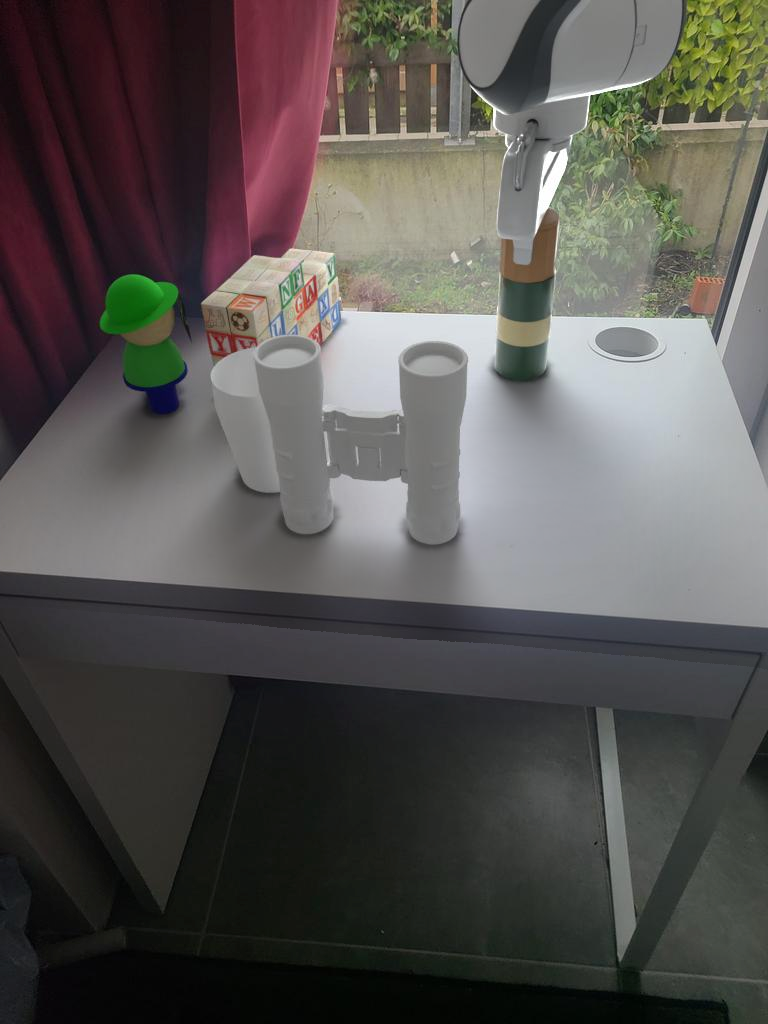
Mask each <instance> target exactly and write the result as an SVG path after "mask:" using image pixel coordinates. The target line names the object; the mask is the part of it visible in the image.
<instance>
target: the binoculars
mask: <svg viewBox="0 0 768 1024" xmlns="http://www.w3.org/2000/svg"><path fill="white" fill-rule="evenodd" d="M321 351H322V350H321V345H319V344H318V343H317V342H316V341H315V340H313V339H311V338H309V337H306V336H302V335H281V336H276V337H273V338H270V339H267V340H265V341H264V342H262V343H260V344H259V345H258V346H257V347H256V348H255V350H254V352H253V359H254V362H255V368H256V374H257V380H258V386H259V392H260V395H261V398H262V401H263V404H264V407H265V410H266V413H267V416H268V419H269V422H270V427H271V434H272V440H273V443H272V445H273V449H274V452H275V458H276V470H277V472H278V477H279V487H280V492H279V493H280V496H279V500H280V508H281V511H282V514H283V517H284V523H285V525H286V527H287V528H288V529H289V530H291V531H292V532H294V533H296V534H299V535H313V534H317V533H320V532H323V531H324V530H326V529H327V528H328V527H330V525H331V524H332V523H333V520H334V505H335V503H334V494H333V492H332V488H331V481H330V479H338V478H340V477H341V475H344V476H347V477H350V478H351V479H353V480H358V481H366V482H367V481H369V482H388V481H390V480H394V479H398V478H400V481H401V483H404V484H407V493H406V495H407V497H406V498H407V501H406V503H405V512H406V513H405V517H406V519H407V528H408V529H407V530H408V532H409V533H408V534H410V536H411V537H412V539H414V540H415V541H417V542H420V543H422V544H425V545H441V544H444V543H447V542H450V541H451V540H452V539H454V537H455V536H456V535H457V533H458V530H459V522H460V518H461V503H460V489H459V487H460V486H459V483H460V475H461V473H460V456H461V447H460V446H461V425H462V421H463V416H464V410H465V406H466V400H467V391H468V390H467V387H468V385H467V384H468V363H469V355H468V353H467V352H466V351H465V350H464V349H462V348H461V346H459V345H457V344H454V343H451V342H447V341H442V340H426V341H420V342H417V343H414V344H411V345H409V346H408V347H405V348H404V349H403V350H402V351H401V352H400V354H399V356H398V360H397V362H398V366H399V367H398V370H399V371H398V374H399V375H398V376H399V377H398V378H399V399H400V403H401V409H399V410H398V409H392V410H387V411H367V410H356V409H349V408H345V407H342V406H336V405H334V404H331V403H330V404H325V405H324V390H325V385H324V383H325V382H324V375H323V373H324V372H323V363H322V354H321V353H322V352H321ZM325 434H326V440H325ZM326 445H327V449H326ZM327 453H328V458H327Z"/></svg>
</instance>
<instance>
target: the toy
mask: <svg viewBox="0 0 768 1024" xmlns="http://www.w3.org/2000/svg"><path fill="white" fill-rule="evenodd" d="M176 301H177V306H178V311H179V316H180V320H181V322H182V324H183V326H184V329H185V331H186V333H187V335H188V338H189V340H190V343H193V341H192V336H191V332H190V327H189V323H188V318H187V313H186V309H185V304H184V302H183V301H182V298H181V296H180V293H179V289H178V288H177V286H176V285H175V283H174V282H173V283H170V282H166V281H158V282H154V280H152V279H150V278H148V277H146V276H144V275H140V274H126V275H123V276H121V277H118V278H117V279H116V280H114V281H113V283H111V285H110V286H109V288H108V290H107V292H106V296H105V310H104V311H103V313H102V315H101V316H100V320H99V327H100V329H101V331H103V332H104V333H106V334H110V335H120V336H121V337H122V338H123V339H124V340H126V341H127V342H126V345H125V347H124V350H123V356H122V368H123V373H122V380H123V382H124V384H125V386H126V387H128V388H129V389H130V390H132V391H137V392H143V393H145V394H146V399H147V402H148V406H149V410H150V412H151V413H153V414H155V415H161V416H163V415H168V414H171V413H174V412H175V411H176V410H178V409H179V407H180V401H179V395H178V391H177V385H178V384H179V383H181V382H182V381H184V379H186V377H187V375H188V373H189V372H188V371H189V369H188V365H187V363H186V361H185V360H184V359H183V356H182V354H181V352H180V350H179V349H178V347H177V346H176V344H175V343H174V341H173V340H172V339H171V338H170V337H169V336H170V334H172V332H173V330H174V327H175V323H176V312H175V309H174V305H175V303H176Z"/></svg>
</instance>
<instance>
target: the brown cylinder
mask: <svg viewBox="0 0 768 1024" xmlns="http://www.w3.org/2000/svg"><path fill="white" fill-rule="evenodd" d="M560 222H561V220H560V214H559V213H558V212H557V211H556V210H554V209H552V208H550V207H548V208H547V210H546V213H545V215H544V217H543V219H542V222H541V224H540V226H539V228H538V230H537V233H536V235H535V237H534V240H533V243H534V250H533V257H532V260H531V262H530V264H528V265H522V264H516V263H514V261H513V256H514V245H513V240H512V239H504V238H500V255H499V274H500V273H501V274H502V275H503V277H504V278H507V279H509V280H512V281H514V282H522V283H534V282H542V281H545V280H547V279H549V278H551V277H552V276H553V274H554V271H555V270H556V262H557V261H556V260H557V252H558V241H559V233H560Z"/></svg>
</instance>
